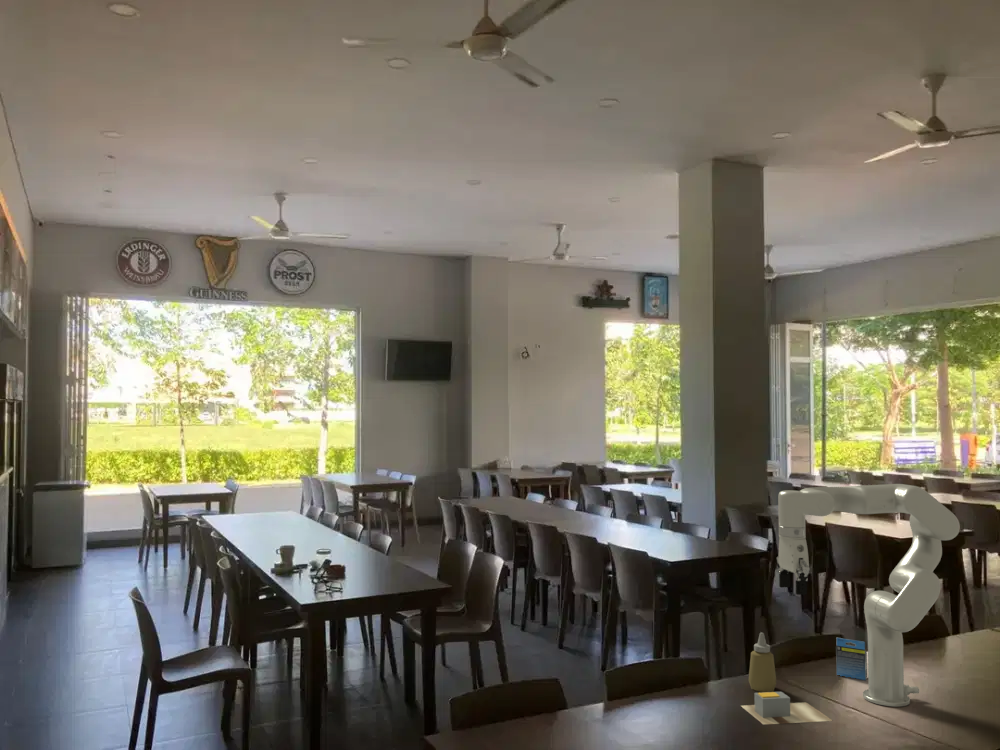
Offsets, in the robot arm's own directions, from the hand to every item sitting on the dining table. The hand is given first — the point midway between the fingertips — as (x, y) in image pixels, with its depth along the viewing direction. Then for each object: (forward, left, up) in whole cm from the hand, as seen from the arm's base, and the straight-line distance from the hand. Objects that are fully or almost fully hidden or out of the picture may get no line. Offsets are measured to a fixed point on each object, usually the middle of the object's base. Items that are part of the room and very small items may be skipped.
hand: (792, 590), depth 238 cm
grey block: (+13, +12, -31) cm, 35 cm away
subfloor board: (+9, +12, -32) cm, 36 cm away
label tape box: (-30, -19, -33) cm, 48 cm away
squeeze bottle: (+6, -8, -32) cm, 34 cm away
